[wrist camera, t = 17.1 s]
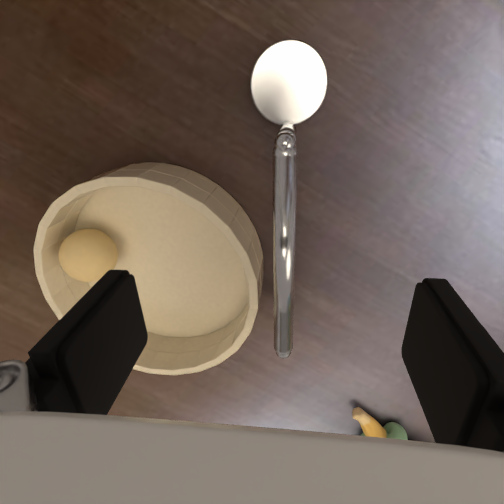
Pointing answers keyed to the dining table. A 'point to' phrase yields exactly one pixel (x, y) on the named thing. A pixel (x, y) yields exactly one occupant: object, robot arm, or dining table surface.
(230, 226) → the bowl
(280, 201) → the ladle
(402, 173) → the dining table surface
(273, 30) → the dining table surface
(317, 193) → the dining table surface
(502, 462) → the robot arm
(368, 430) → the multicolor toy piece
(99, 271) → the tan ball
